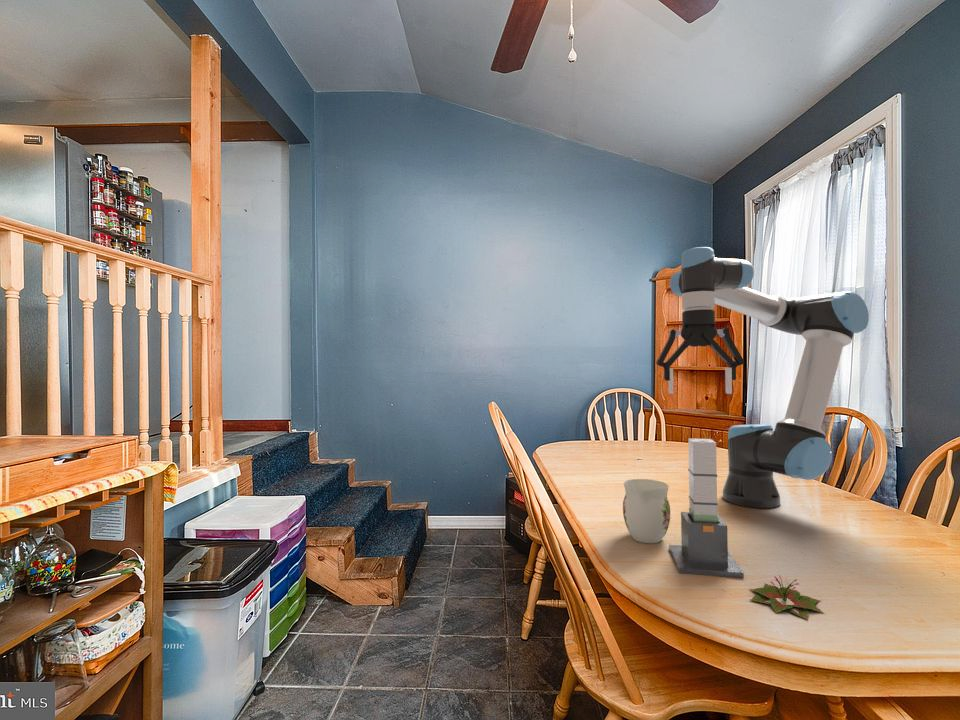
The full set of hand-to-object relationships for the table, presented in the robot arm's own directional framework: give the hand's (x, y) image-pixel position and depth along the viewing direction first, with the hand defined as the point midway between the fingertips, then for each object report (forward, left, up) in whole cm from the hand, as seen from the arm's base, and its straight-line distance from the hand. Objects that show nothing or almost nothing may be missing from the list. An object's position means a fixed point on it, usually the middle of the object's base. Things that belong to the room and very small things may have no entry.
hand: (699, 393), depth 119 cm
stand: (+4, +20, -35) cm, 40 cm away
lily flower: (-6, +34, -35) cm, 50 cm away
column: (+4, +20, -26) cm, 33 cm away
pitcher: (+14, +7, -35) cm, 38 cm away
